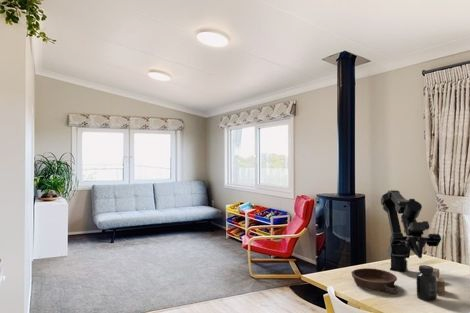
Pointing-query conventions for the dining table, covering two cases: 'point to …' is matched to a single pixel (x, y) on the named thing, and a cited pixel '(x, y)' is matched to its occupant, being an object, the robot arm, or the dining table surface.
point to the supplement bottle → (426, 283)
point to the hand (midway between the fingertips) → (420, 257)
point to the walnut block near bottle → (440, 286)
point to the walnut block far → (436, 272)
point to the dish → (375, 279)
